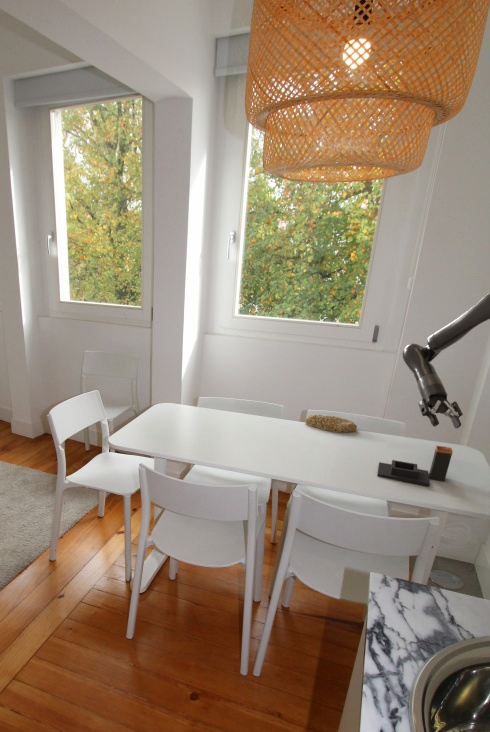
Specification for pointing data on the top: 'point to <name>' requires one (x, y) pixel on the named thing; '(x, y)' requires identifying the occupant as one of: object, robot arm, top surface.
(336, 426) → the sponge
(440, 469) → the black and orange block
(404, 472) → the base pad
